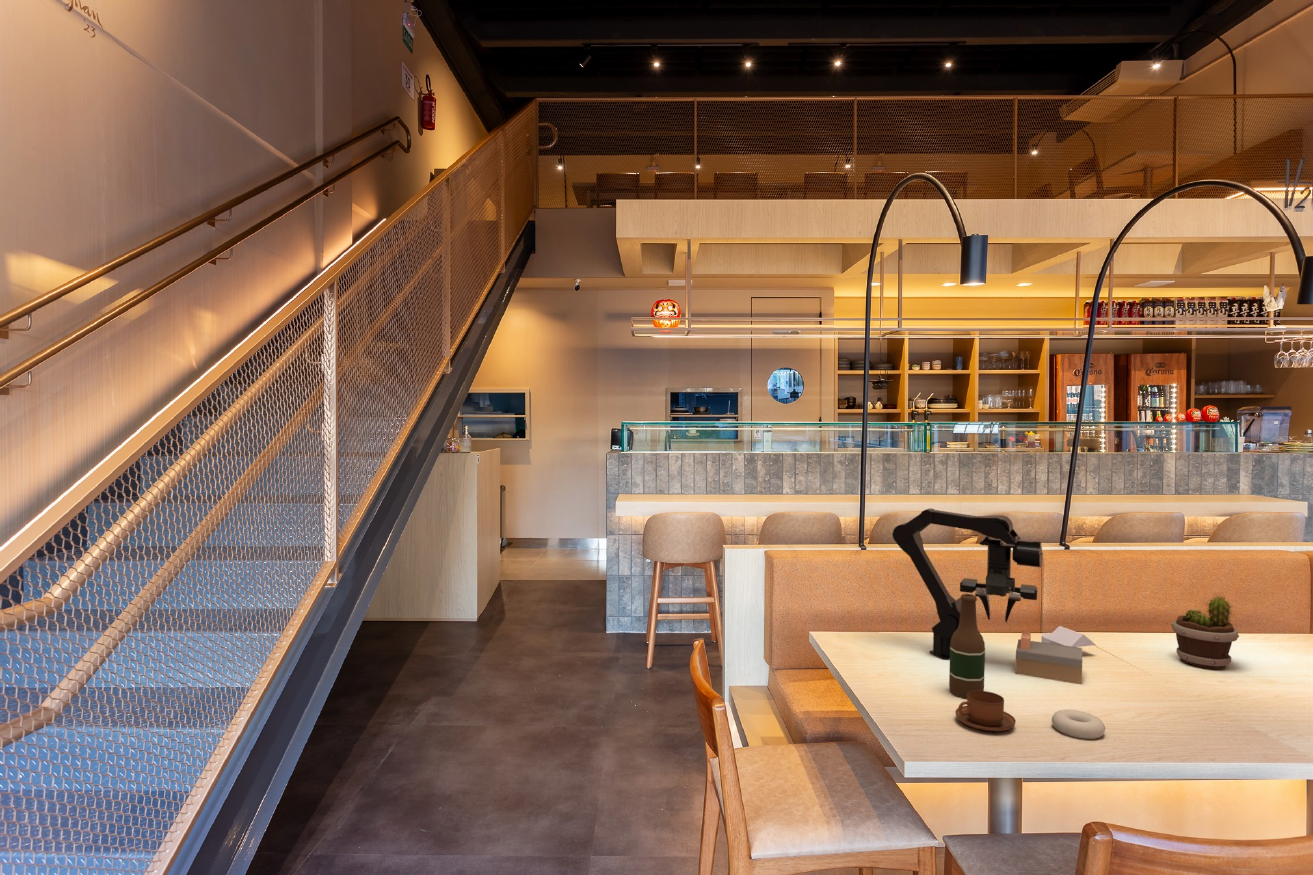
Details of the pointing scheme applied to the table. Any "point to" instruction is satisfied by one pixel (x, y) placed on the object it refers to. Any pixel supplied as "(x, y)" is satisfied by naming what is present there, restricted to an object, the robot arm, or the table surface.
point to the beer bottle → (967, 652)
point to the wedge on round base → (1066, 638)
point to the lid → (1048, 652)
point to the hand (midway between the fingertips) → (997, 620)
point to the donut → (1078, 724)
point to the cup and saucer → (985, 712)
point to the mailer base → (1049, 670)
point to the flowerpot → (1206, 635)
